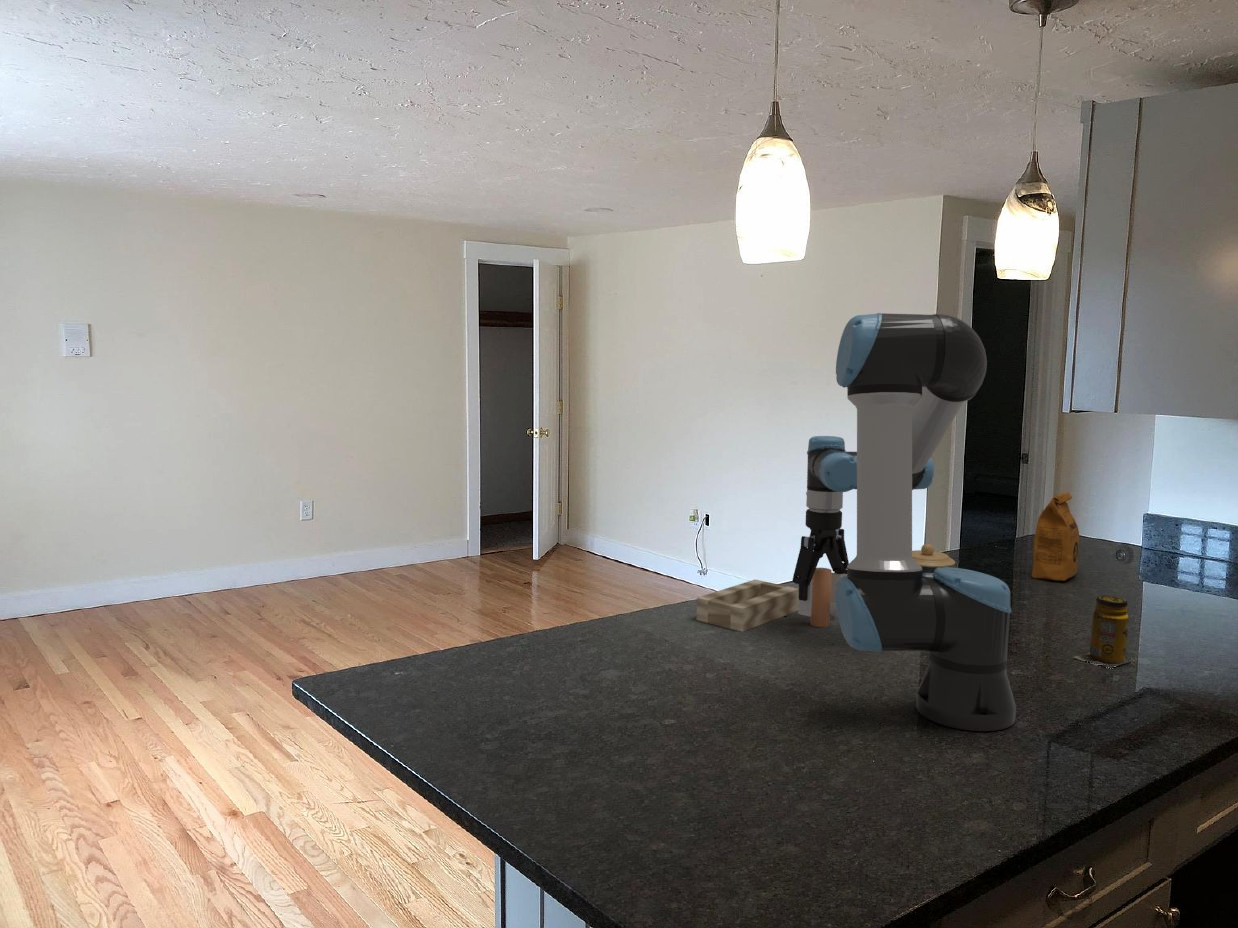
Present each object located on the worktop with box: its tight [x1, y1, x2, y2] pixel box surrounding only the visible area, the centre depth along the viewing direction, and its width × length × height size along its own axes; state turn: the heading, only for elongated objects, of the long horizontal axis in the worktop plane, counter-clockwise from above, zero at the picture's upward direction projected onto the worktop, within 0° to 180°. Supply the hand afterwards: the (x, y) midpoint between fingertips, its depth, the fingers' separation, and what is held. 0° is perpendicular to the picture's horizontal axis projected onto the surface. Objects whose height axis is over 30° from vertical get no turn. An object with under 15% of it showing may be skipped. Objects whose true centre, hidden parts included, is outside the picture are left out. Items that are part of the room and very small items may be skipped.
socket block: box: [696, 579, 799, 633], centre depth 201 cm, size 22×12×5 cm, turn 137°
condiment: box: [1073, 595, 1135, 670], centre depth 173 cm, size 7×8×12 cm
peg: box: [809, 567, 833, 628], centre depth 194 cm, size 4×4×12 cm
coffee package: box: [1031, 492, 1081, 582], centre depth 236 cm, size 10×12×22 cm
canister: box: [912, 543, 956, 578], centre depth 195 cm, size 13×13×18 cm
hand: (820, 608), depth 195 cm, fingers open, 12 cm apart
